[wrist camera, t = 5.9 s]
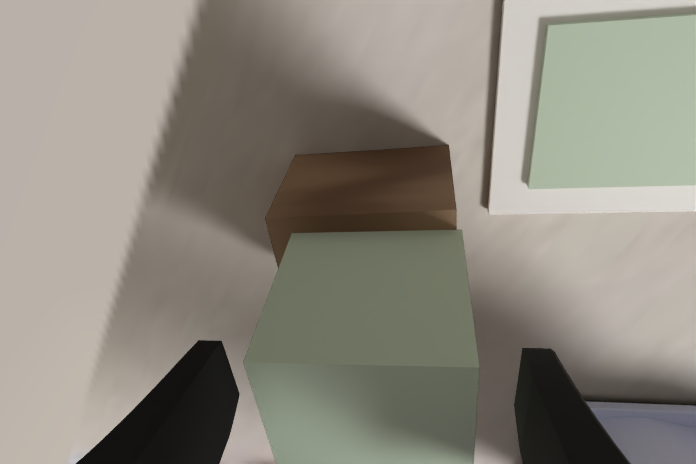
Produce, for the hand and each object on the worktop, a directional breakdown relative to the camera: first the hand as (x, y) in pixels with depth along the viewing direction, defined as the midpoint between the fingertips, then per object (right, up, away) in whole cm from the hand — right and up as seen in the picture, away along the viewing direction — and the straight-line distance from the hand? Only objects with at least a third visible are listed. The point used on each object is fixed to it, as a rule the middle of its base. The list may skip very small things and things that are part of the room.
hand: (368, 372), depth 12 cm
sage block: (0, +2, +2) cm, 3 cm away
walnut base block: (+1, +4, +5) cm, 7 cm away
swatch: (+7, +7, +2) cm, 10 cm away
